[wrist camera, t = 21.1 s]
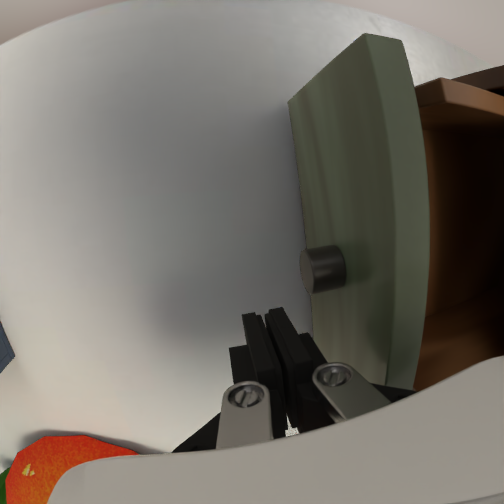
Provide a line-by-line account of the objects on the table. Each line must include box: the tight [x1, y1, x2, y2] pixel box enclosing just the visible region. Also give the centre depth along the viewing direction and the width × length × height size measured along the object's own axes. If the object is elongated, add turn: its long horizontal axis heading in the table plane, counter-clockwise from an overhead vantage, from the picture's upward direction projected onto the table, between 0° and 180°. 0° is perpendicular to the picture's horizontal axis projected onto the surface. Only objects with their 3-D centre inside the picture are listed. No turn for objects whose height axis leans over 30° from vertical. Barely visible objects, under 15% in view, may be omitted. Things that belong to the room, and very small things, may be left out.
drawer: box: [288, 33, 504, 392], centre depth 11 cm, size 17×14×7 cm
